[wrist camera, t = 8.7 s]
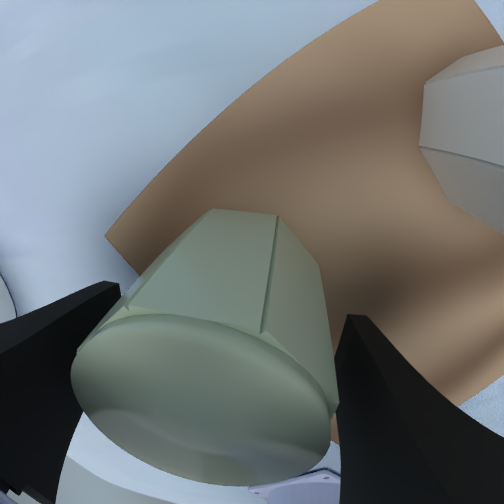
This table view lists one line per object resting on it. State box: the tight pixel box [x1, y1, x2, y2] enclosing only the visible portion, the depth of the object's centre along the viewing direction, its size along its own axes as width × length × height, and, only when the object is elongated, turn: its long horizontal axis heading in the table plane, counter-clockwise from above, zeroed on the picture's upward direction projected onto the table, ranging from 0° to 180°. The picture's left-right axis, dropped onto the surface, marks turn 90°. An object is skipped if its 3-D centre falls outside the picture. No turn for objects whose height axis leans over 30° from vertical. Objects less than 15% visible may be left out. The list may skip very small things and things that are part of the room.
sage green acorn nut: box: [71, 208, 339, 486], centre depth 8 cm, size 6×6×7 cm
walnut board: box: [105, 0, 504, 446], centre depth 10 cm, size 20×18×1 cm
